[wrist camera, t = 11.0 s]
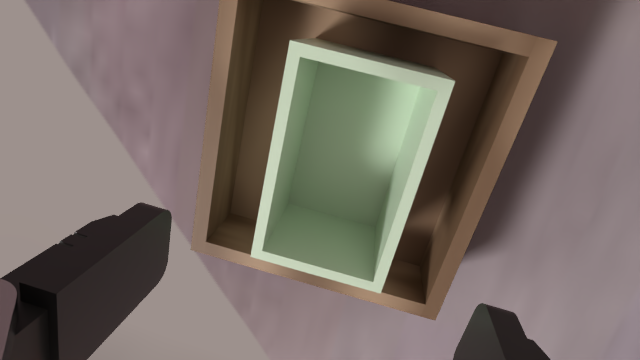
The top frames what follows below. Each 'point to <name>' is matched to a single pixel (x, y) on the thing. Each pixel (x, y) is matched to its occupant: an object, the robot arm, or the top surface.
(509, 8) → the top surface
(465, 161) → the big crate
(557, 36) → the top surface
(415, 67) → the small crate
